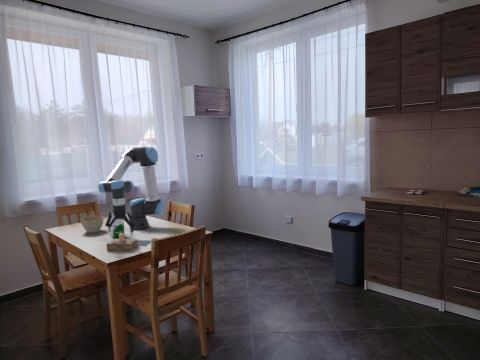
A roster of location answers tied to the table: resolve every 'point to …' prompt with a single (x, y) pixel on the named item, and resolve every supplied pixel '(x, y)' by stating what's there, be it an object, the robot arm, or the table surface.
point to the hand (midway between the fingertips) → (121, 236)
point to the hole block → (122, 245)
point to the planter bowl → (92, 223)
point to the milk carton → (117, 227)
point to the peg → (121, 237)
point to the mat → (143, 242)
